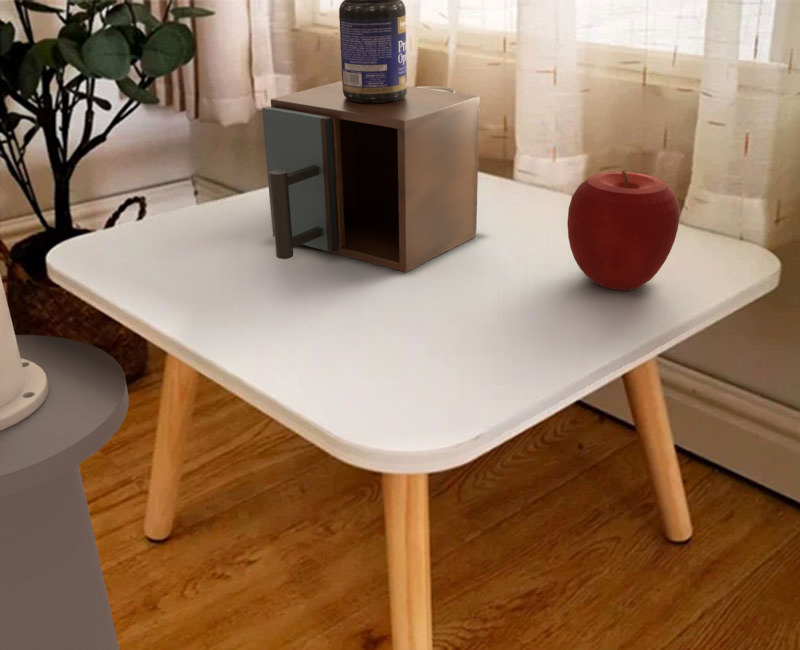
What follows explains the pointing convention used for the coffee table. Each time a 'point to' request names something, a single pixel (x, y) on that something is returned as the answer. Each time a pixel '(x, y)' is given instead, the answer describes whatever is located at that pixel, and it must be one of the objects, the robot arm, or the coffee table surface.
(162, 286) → the coffee table surface
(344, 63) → the pill bottle
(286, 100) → the cabinet
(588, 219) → the apple
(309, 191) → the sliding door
